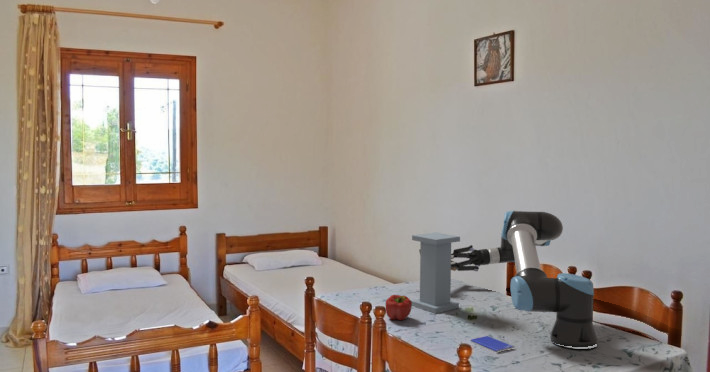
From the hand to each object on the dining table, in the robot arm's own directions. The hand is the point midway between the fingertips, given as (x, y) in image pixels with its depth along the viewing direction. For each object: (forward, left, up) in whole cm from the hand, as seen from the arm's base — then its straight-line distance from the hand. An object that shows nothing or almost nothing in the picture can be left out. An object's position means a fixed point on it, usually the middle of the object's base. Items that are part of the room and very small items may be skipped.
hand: (440, 261), depth 275 cm
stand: (-32, -15, -12) cm, 37 cm away
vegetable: (-56, -13, -12) cm, 59 cm away
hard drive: (-61, -54, -13) cm, 83 cm away
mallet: (-1, +1, 0) cm, 1 cm away
